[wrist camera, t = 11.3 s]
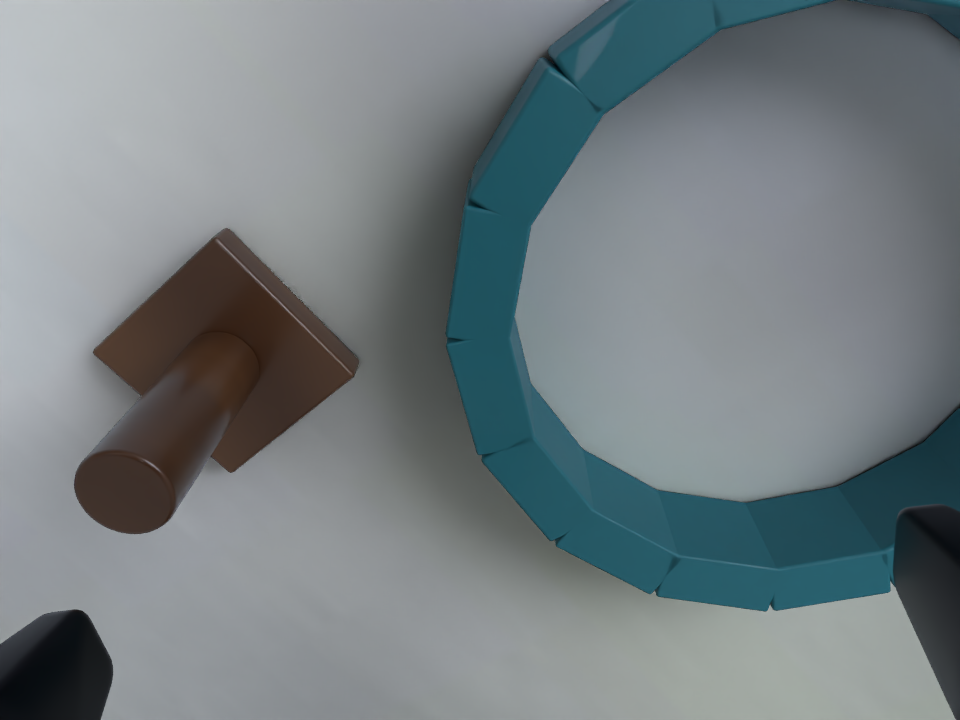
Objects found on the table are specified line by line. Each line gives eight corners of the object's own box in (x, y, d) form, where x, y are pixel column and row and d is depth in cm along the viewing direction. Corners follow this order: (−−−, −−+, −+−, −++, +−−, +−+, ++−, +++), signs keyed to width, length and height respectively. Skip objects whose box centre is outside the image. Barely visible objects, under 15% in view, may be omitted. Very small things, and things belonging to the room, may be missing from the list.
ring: (659, 617, 20) (679, 693, 18) (328, 216, 15) (300, 251, 13) (1193, 351, 16) (1301, 405, 14) (959, -270, 12) (1062, -330, 10)
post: (241, 456, 18) (142, 630, 13) (107, 337, 17) (-59, 479, 12) (361, 360, 17) (304, 510, 12) (227, 225, 16) (99, 329, 11)
